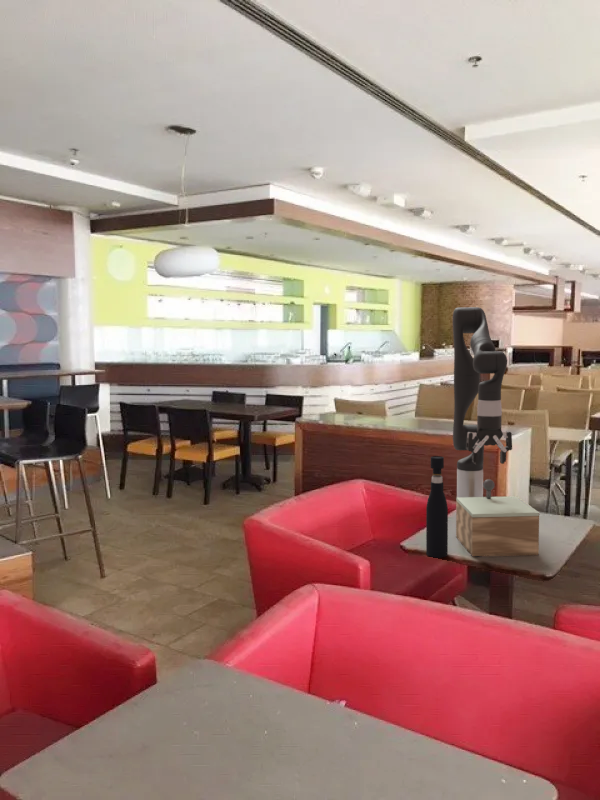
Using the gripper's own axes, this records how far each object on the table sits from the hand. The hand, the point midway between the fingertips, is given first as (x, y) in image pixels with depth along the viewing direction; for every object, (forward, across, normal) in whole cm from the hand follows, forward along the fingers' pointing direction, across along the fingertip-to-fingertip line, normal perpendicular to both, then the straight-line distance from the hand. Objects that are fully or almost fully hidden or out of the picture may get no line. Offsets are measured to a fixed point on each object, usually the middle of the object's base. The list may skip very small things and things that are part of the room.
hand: (488, 463), depth 223 cm
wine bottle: (+25, +20, +15) cm, 35 cm away
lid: (+12, 0, +8) cm, 15 cm away
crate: (+25, 0, +8) cm, 26 cm away
